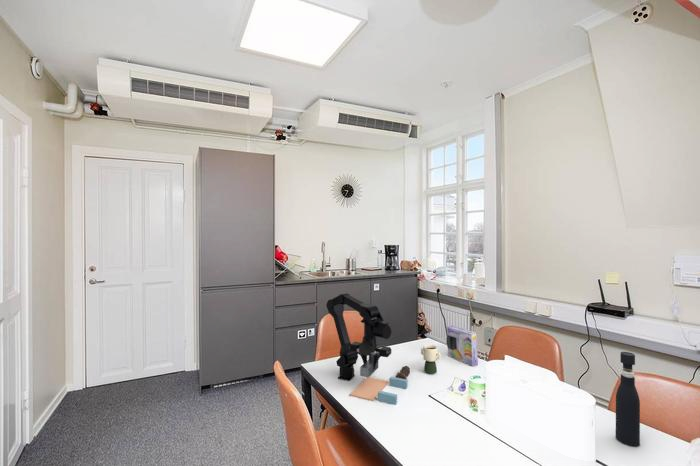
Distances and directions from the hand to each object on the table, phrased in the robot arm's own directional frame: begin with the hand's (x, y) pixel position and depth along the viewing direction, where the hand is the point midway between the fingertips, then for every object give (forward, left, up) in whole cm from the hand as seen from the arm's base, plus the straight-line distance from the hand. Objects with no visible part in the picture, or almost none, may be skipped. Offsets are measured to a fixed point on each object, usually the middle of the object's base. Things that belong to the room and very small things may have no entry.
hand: (370, 367), depth 152 cm
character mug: (+21, +30, -10) cm, 38 cm away
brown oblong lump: (+11, +18, -10) cm, 23 cm away
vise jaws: (+11, 0, -10) cm, 15 cm away
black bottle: (+94, +3, -10) cm, 95 cm away
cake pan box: (+33, +54, -10) cm, 64 cm away
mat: (0, 0, -10) cm, 10 cm away
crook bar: (0, -1, -2) cm, 2 cm away
